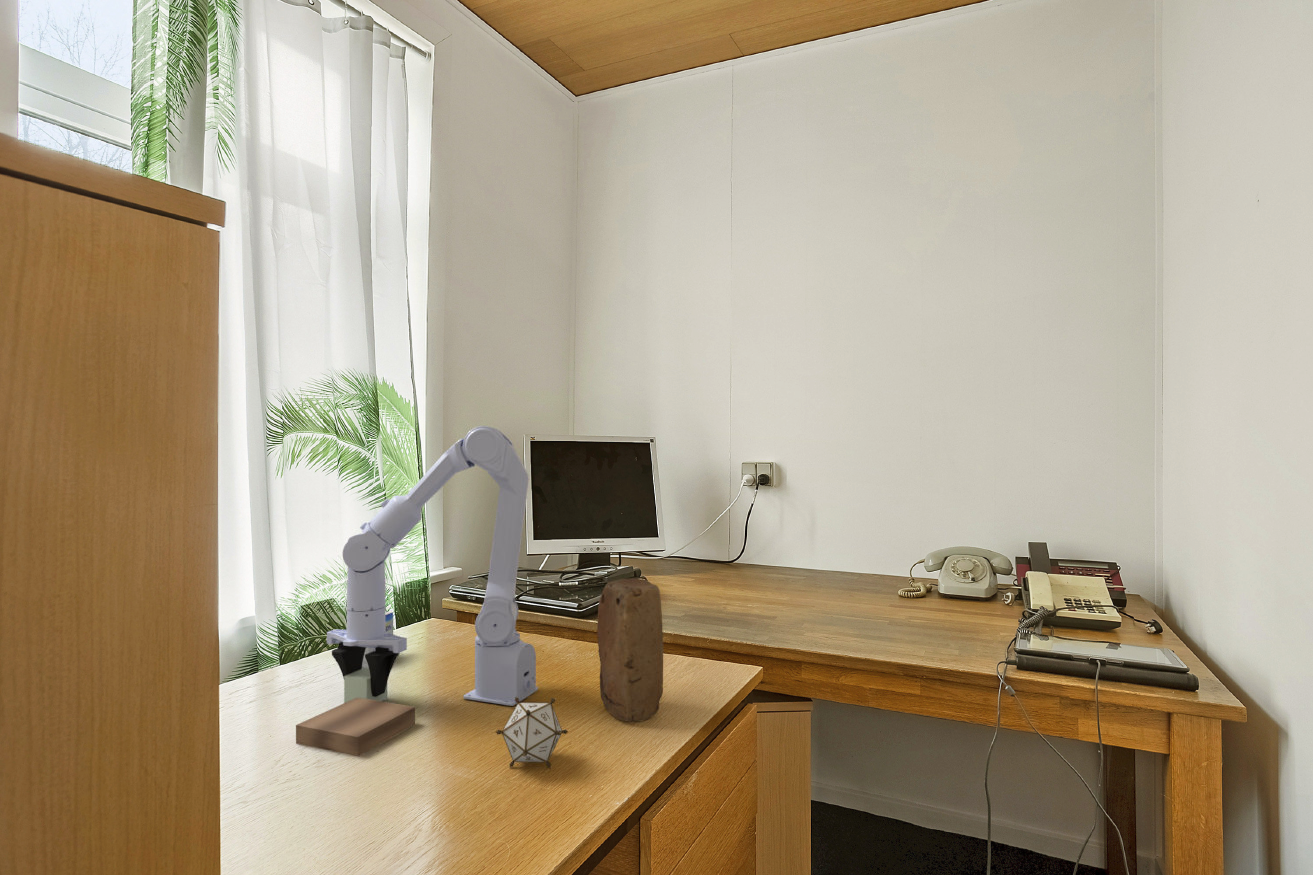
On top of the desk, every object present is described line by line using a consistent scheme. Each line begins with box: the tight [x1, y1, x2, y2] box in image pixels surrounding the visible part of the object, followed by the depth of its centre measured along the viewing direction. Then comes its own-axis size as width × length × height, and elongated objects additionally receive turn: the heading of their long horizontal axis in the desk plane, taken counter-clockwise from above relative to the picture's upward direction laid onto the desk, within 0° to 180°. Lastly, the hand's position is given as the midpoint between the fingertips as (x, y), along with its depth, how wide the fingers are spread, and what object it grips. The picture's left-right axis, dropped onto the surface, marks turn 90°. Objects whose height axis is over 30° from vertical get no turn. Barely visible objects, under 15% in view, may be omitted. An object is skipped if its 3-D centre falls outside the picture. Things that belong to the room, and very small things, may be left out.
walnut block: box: [295, 697, 416, 757], centre depth 97 cm, size 11×11×3 cm
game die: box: [494, 697, 569, 770], centre depth 88 cm, size 9×8×10 cm
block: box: [596, 577, 664, 723], centre depth 105 cm, size 11×8×20 cm
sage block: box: [343, 667, 388, 704], centre depth 110 cm, size 4×4×4 cm
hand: (366, 692), depth 110 cm, fingers closed on sage block, 4 cm apart
